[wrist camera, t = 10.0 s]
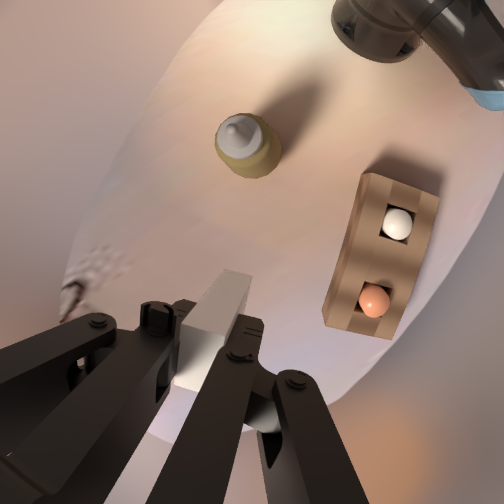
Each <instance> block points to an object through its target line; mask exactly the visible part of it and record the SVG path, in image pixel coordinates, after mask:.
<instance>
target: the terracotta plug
mask: <svg viewBox="0 0 504 504" xmlns="http://www.w3.org/2000/svg"><path fill="white" fill-rule="evenodd" d="M358 302H359V304H360V306H361V307H362V309H363V311H364V313H365V314H366V315H367V316H369V317H373V318H375V317H379V316H382V315H383V314H384V313H385V312H386V311H387V310H388V308H389V305H390V299H389V296H388V295H387V294H386V292H385V291H384V290H383V289H382V288H381V286H380V285H378V284H374V283H370V282H366V281H364V284H363V286H362V289H361V292H360V295H359V298H358Z"/></svg>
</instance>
